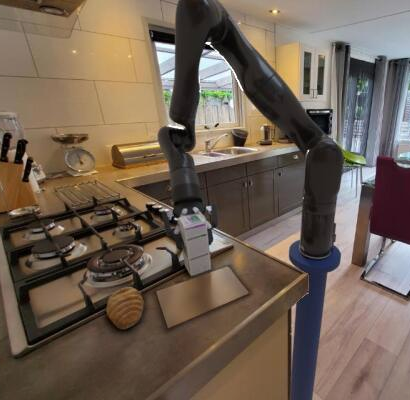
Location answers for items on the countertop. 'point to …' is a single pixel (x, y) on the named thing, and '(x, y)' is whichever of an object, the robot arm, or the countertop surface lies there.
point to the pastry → (125, 307)
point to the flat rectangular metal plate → (199, 295)
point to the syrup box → (195, 243)
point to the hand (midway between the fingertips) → (195, 246)
